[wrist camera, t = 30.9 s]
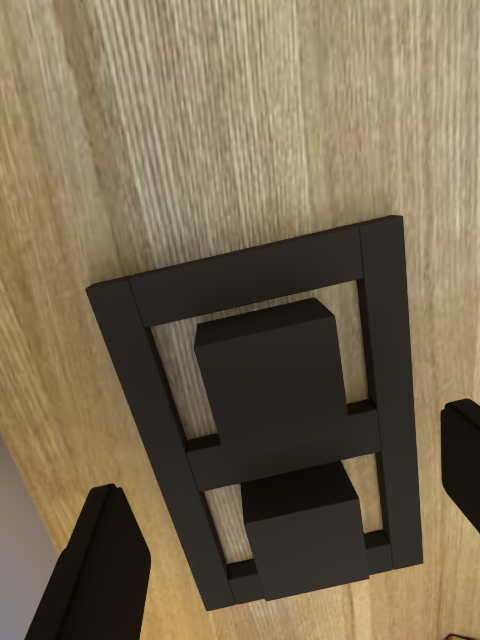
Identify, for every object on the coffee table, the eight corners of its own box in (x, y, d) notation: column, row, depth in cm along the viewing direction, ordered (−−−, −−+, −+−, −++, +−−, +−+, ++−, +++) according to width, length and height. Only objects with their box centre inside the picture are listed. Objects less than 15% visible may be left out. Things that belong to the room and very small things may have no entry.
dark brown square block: (259, 551, 22) (265, 602, 19) (240, 479, 20) (243, 524, 17) (350, 531, 22) (369, 579, 19) (339, 457, 20) (359, 498, 17)
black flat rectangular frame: (206, 595, 23) (206, 612, 22) (91, 283, 16) (84, 288, 15) (415, 549, 23) (424, 563, 22) (392, 214, 16) (403, 215, 15)
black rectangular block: (224, 423, 19) (226, 462, 16) (197, 323, 17) (193, 347, 14) (330, 399, 19) (351, 434, 16) (315, 296, 17) (335, 315, 14)
